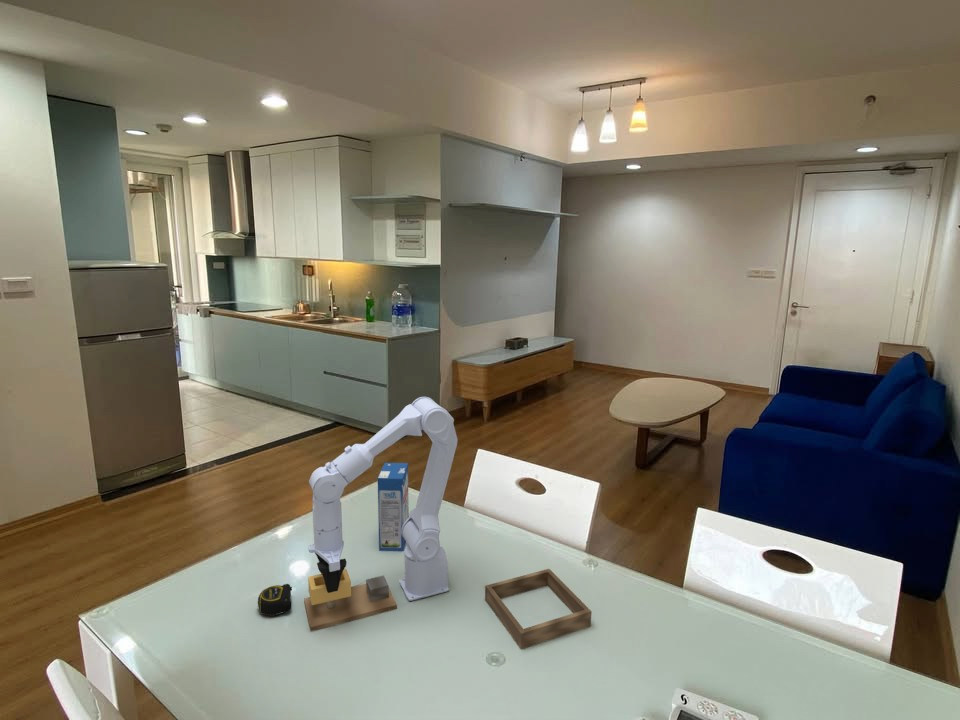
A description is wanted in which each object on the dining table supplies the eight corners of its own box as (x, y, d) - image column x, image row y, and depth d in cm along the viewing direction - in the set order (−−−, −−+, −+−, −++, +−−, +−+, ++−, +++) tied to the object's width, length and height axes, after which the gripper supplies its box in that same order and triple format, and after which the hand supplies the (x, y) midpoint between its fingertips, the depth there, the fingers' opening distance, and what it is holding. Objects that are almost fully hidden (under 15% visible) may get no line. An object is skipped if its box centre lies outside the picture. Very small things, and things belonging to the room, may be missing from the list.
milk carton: (403, 551, 138) (402, 478, 134) (379, 550, 138) (377, 478, 134) (408, 531, 148) (408, 463, 144) (386, 530, 148) (384, 462, 144)
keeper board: (385, 582, 125) (384, 563, 124) (397, 608, 116) (396, 587, 115) (304, 602, 118) (303, 581, 117) (310, 631, 109) (309, 609, 108)
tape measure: (292, 615, 114) (291, 599, 113) (257, 621, 112) (256, 605, 111) (292, 596, 120) (291, 581, 120) (259, 601, 118) (258, 586, 118)
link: (346, 582, 119) (346, 568, 118) (351, 596, 114) (350, 581, 113) (308, 591, 115) (308, 576, 115) (311, 605, 111) (311, 590, 110)
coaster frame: (548, 582, 127) (549, 568, 126) (590, 626, 112) (591, 611, 111) (485, 599, 120) (485, 585, 119) (520, 649, 105) (521, 633, 105)
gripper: (303, 512, 116) (306, 569, 119) (312, 546, 103) (315, 608, 106) (336, 506, 119) (338, 562, 122) (349, 538, 106) (351, 599, 109)
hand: (330, 583), depth 114 cm, fingers closed on link, 5 cm apart
